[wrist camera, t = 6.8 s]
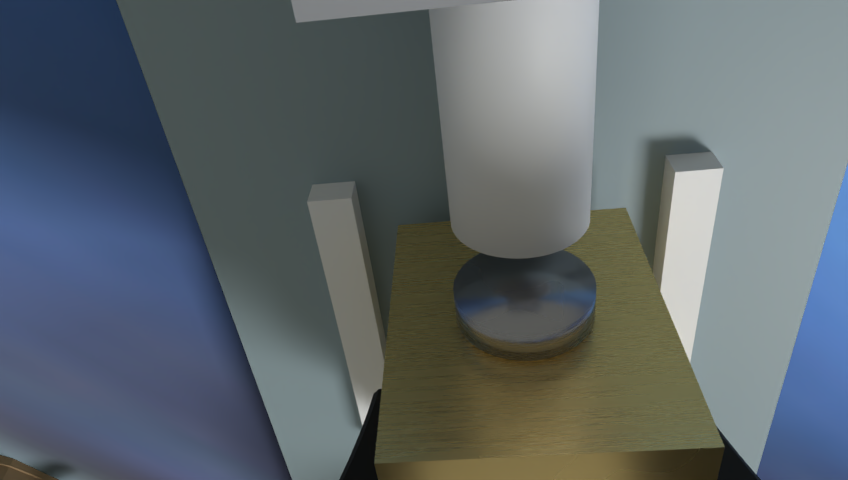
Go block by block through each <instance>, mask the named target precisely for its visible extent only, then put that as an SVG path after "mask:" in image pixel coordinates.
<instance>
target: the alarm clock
mask: <svg viewBox="0 0 848 480" xmlns="http://www.w3.org/2000/svg"><path fill="white" fill-rule="evenodd" d="M0 480H58V479H56V478H54V477H51V476H49V475H47V474H45V473H43V472H41V471H39V470H36V469H34V468H32V467H30V466H28V465H26V464H24V463H21V462H19V461H17V460H15V459H12V458H9V457H5V456H2V455H0Z"/></svg>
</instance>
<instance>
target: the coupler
mask: <svg viewBox="0 0 848 480" xmlns="http://www.w3.org/2000/svg"><path fill="white" fill-rule="evenodd" d="M724 449H725V446H724V444H723V441H722V439H721V437H720V434H719V432H718V429H717V427H716V425H715V422H714V420H713V417H712V415H711V412H710V410H709V408H708V405H707V403H706V400H705V398H704V396H703V393H702V391H701V388H700V386H699V383H698V381H697V379H696V376H695V374H694V371H693V369H692V367H691V364H690V362H689V359H688V357H687V354H686V352H685V350H684V347H683V345H682V342H681V340H680V337H679V335H678V333H677V330H676V328H675V325H674V323H673V321H672V318H671V316H670V313H669V311H668V308H667V306H666V304H665V301H664V299H663V296H662V294H661V292H660V289H659V287H658V284H657V282H656V279H655V277H654V275H653V272H652V270H651V267H650V265H649V263H648V260H647V258H646V255H645V253H644V250H643V248H642V246H641V243H640V241H639V238H638V236H637V234H636V231H635V229H634V226H633V224H632V221H631V219H630V217H629V214H628V212H627V209H626V208H615V209H602V210H590V223H589V227H588V229H587V231H586V232H585V234H584V235H583V236H582V237H581V238H580V239H579V240H578V241H577V242H575V243H574V244H572V245H571V246H569V247H567V248H565V249H563V250H561V251H558V252H555V253H552V254H549V255H545V256H540V257H534V258H522V259H513V258H501V257H495V256H490V255H486V254H483V253H480V252H478V251H475V250H473V249H471V248H469V247H468V246H466V245H465V244H463V243H462V242H461V241H460V240H459V239H458V238H457V237H456V236H455V234H454V233H453V230H452V228H451V221H445V222H432V223H419V224H406V225H398V231H397V241H396V251H395V261H394V271H393V281H392V291H391V301H390V311H389V321H388V331H387V341H386V351H385V361H384V371H383V381H382V391H381V401H380V411H379V421H378V431H377V441H376V451H375V461H374V465H375V469H376V473H377V477H378V480H717V478H718V474H719V470H720V465H721V461H722V457H723V453H724Z"/></svg>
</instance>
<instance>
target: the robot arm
mask: <svg viewBox="0 0 848 480" xmlns="http://www.w3.org/2000/svg"><path fill="white" fill-rule="evenodd" d="M381 391H382V389H378V390H377V391H376V392H375V393H374V394H373V397H372V400H371V403H370V406H369V409H368V412H367V415H366V418H365V421H364V423H363V426H362V428H361V431H360V434H359V436H358V439H357V441H356V443H355V446H354V448H353V450H352V453H351V455H350V457H349V460H348V462H347V464H346V466H345V468H344V470H343V473H342V475H341V477H340V479H339V480H378V477H377V473H376V469H375V465H374V461H375V451H376V441H377V431H378V421H379V411H380V401H381ZM716 427H717V426H716ZM717 429H718V427H717ZM718 432H719V434H720V437H721V439H722V441H723V444H724V446H725V449H724V453H723V457H722V461H721V465H720V470H719V474H718V478H717V480H761V479H760V478H759V477H758V476H757V475H756V474H755V472H754V471H753V470H752V469H751V468H750V467H749V465H748V464H747V463H746V462H745V461H744V460H743V458H742V457H741V456H740V455H739V454H738V452H737V451H736V450H735V449H734V447H733V446H732V445H731V444H730V443H729V441H728V440H727V439H726V437H725V436H724V435H723V434H722V432H721V431H720V430H719V429H718Z"/></svg>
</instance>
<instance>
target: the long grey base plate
mask: <svg viewBox="0 0 848 480" xmlns="http://www.w3.org/2000/svg"><path fill="white" fill-rule="evenodd" d="M116 1H117V4H118V7H119V9H120V12H121V15H122V17H123V20H124V23H125V26H126V28H127V31H128V34H129V36H130V39H131V42H132V45H133V47H134V50H135V53H136V56H137V58H138V61H139V64H140V66H141V69H142V72H143V75H144V77H145V80H146V83H147V86H148V88H149V91H150V94H151V96H152V99H153V102H154V105H155V107H156V110H157V113H158V116H159V118H160V121H161V124H162V126H163V129H164V132H165V135H166V137H167V140H168V143H169V146H170V148H171V151H172V154H173V156H174V159H175V162H176V165H177V167H178V170H179V173H180V176H181V178H182V181H183V184H184V186H185V189H186V192H187V195H188V197H189V200H190V203H191V206H192V208H193V211H194V214H195V216H196V219H197V222H198V225H199V227H200V230H201V233H202V236H203V238H204V241H205V244H206V246H207V249H208V252H209V255H210V257H211V260H212V263H213V266H214V268H215V271H216V274H217V276H218V279H219V282H220V285H221V287H222V290H223V293H224V295H225V298H226V301H227V304H228V306H229V309H230V312H231V315H232V317H233V320H234V323H235V325H236V328H237V331H238V334H239V336H240V339H241V342H242V345H243V347H244V350H245V353H246V355H247V358H248V361H249V364H250V366H251V369H252V372H253V375H254V377H255V380H256V383H257V385H258V388H259V391H260V394H261V396H262V399H263V402H264V405H265V407H266V410H267V413H268V415H269V418H270V421H271V424H272V426H273V429H274V432H275V435H276V437H277V440H278V443H279V445H280V448H281V451H282V454H283V456H284V459H285V462H286V465H287V467H288V470H289V473H290V475H291V478H292V480H339V479H340V477H341V475H342V473H343V470H344V468H345V466H346V464H347V462H348V460H349V457H350V455H351V453H352V450H353V448H354V446H355V443H356V441H357V439H358V436H359V434H360V431H361V428H362V426H363V423H364V421H365V418H366V415H367V412H368V409H369V406H370V403H371V400H372V397H373V394H374V393H375V392H376V391H377V390H378V389H382V381H383V371H384V361H385V351H386V341H387V331H388V321H389V311H390V301H391V291H392V281H393V271H394V261H395V251H396V241H397V231H398V225H406V224H419V223H432V222H445V221H451V228H452V230H453V233H454V234H455V236H456V237H457V238H458V239H459V240H460V241H461V242H462V243H463V244H465V245H466V246H468V247H469V248H471V249H473V250H475V251H478V252H480V253H483V254H486V255H490V256H495V257H501V258H513V259H522V258H534V257H540V256H545V255H549V254H552V253H555V252H558V251H561V250H563V249H565V248H567V247H569V246H571V245H572V244H574V243H575V242H577V241H578V240H579V239H580V238H581V237H582V236H583V235H584V234H585V232H586V231H587V229H588V227H589V223H590V210H602V209H615V208H626V209H627V212H628V214H629V217H630V219H631V221H632V224H633V226H634V229H635V231H636V234H637V236H638V238H639V241H640V243H641V246H642V248H643V250H644V253H645V255H646V258H647V260H648V263H649V265H650V267H651V270H652V272H653V275H654V277H655V279H656V282H657V284H658V287H659V289H660V292H661V294H662V296H663V299H664V301H665V304H666V306H667V308H668V311H669V313H670V316H671V318H672V321H673V323H674V325H675V328H676V330H677V333H678V335H679V337H680V340H681V342H682V345H683V347H684V350H685V352H686V354H687V357H688V359H689V362H690V364H691V367H692V369H693V371H694V374H695V376H696V379H697V381H698V383H699V386H700V388H701V391H702V393H703V396H704V398H705V400H706V403H707V405H708V408H709V410H710V412H711V415H712V417H713V420H714V422H715V425H716V426H717V427H718V429H719V430H720V431H721V432H722V434H723V435H724V436H725V437H726V439H727V440H728V441H729V443H730V444H731V445H732V446H733V447H734V449H735V450H736V451H737V452H738V454H739V455H740V456H741V457H742V458H743V460H744V461H745V462H746V463H747V464H748V465H749V467H750V468H751V469H752V470H753V471H754V472H755V474H757V470H758V467H759V463H760V460H761V457H762V453H763V450H764V446H765V443H766V440H767V436H768V433H769V429H770V426H771V423H772V419H773V416H774V412H775V409H776V405H777V402H778V399H779V395H780V392H781V388H782V385H783V382H784V378H785V375H786V371H787V368H788V365H789V361H790V358H791V354H792V351H793V347H794V344H795V341H796V337H797V334H798V330H799V327H800V324H801V320H802V317H803V313H804V310H805V307H806V303H807V300H808V296H809V293H810V290H811V286H812V283H813V279H814V276H815V272H816V269H817V266H818V262H819V259H820V255H821V252H822V249H823V245H824V242H825V238H826V235H827V232H828V228H829V225H830V221H831V218H832V214H833V211H834V208H835V204H836V201H837V197H838V194H839V191H840V187H841V184H842V180H843V177H844V174H845V170H846V167H847V163H848V0H116Z"/></svg>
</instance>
